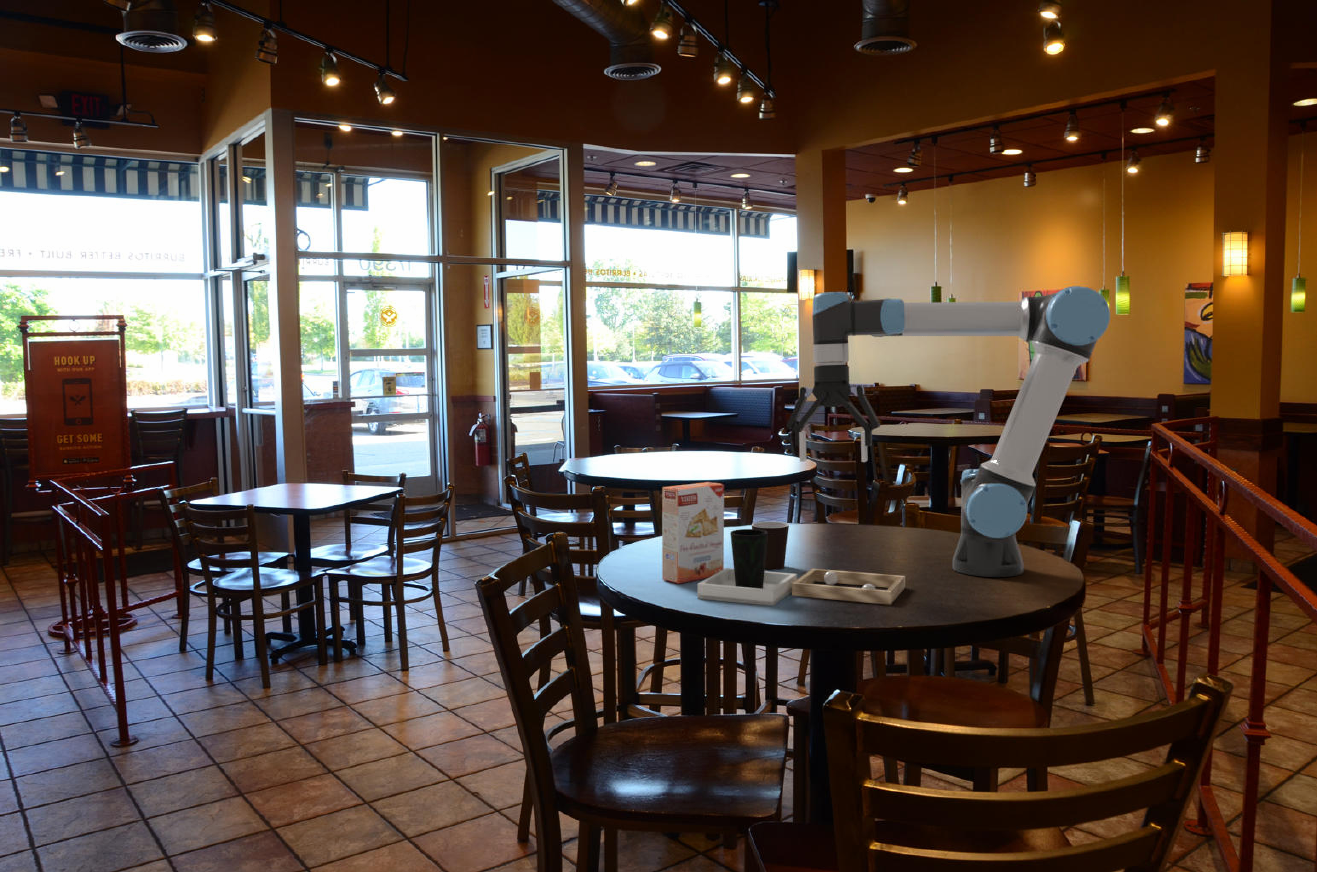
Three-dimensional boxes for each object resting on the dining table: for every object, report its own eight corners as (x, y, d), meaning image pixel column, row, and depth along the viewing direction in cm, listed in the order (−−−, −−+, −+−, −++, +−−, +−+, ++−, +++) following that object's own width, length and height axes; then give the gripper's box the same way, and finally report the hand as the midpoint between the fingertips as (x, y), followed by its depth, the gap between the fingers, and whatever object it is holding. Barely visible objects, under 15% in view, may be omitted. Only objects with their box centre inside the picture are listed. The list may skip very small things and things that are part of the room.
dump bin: (796, 587, 201) (796, 574, 201) (772, 605, 187) (772, 590, 187) (725, 581, 208) (725, 568, 208) (697, 598, 194) (697, 583, 193)
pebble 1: (839, 584, 204) (839, 570, 204) (836, 587, 201) (836, 573, 201) (825, 582, 205) (826, 569, 205) (822, 585, 203) (822, 572, 203)
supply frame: (904, 587, 200) (905, 576, 200) (890, 604, 186) (890, 592, 186) (812, 579, 208) (812, 568, 208) (792, 595, 195) (792, 583, 195)
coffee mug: (787, 571, 217) (787, 528, 216) (750, 570, 219) (749, 527, 218) (791, 561, 228) (790, 519, 228) (755, 560, 230) (754, 519, 229)
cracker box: (679, 585, 206) (678, 489, 204) (661, 580, 210) (660, 486, 208) (726, 575, 215) (725, 483, 213) (707, 570, 219) (706, 480, 217)
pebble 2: (877, 597, 192) (877, 582, 192) (874, 601, 189) (874, 586, 189) (862, 596, 193) (862, 581, 193) (859, 599, 191) (859, 584, 191)
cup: (744, 583, 203) (744, 527, 202) (775, 588, 198) (774, 531, 197) (723, 590, 197) (723, 533, 196) (754, 595, 192) (754, 536, 191)
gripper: (892, 362, 205) (894, 459, 207) (780, 365, 215) (783, 458, 217) (886, 362, 199) (887, 463, 200) (771, 366, 209) (773, 462, 210)
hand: (833, 461), depth 209 cm, fingers open, 13 cm apart
